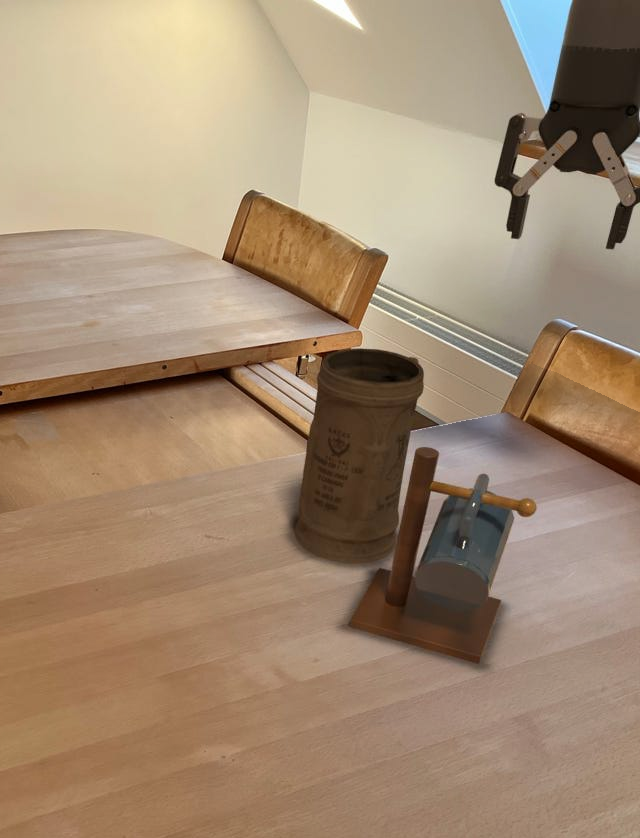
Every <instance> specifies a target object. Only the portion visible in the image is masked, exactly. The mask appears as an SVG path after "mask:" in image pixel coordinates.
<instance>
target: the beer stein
mask: <svg viewBox="0 0 640 838" xmlns="http://www.w3.org/2000/svg"><path fill="white" fill-rule="evenodd" d="M424 378H425V371H424V368H423V366H422V365H421V364H420V363H419V359H418V358H417V357H414V356H413V357H412V356H406V355H403V354H401V353H398V352H393V351H389V350H384V349H378V348H360V347H358V348H357V347H356V348H346V349H341V350H337V351H333V352H331V353H328V354H327V355H326V356H325V357H324V358H323V359H322V362H321V366H320V370H319V371H318V373H317V376H316V381H317V389H316V397H315V406H314V411H313V419H312V421H311V423H310V425H309V431H308V436H307V441H306V448H305V449H306V451H305V457H304V458H305V459H304V465H303V472H302V479H301V485H300V493H299V499H298V515H299V518H298V519H297V522H296V524H295V528H294V532H293V533H294V538H295V540H296V541H297V543H298V544H299V545H300V546H301V547H302V548H303V549H304V550H306V551H307V552H309V553H311V554H312V555H314V556H316V557H318V558H321V559H325V560H327V561H331V562H336V563H342V564H352V565H353V564H354V565H356V564H360V565H361V564H368V563H373V562H377V561H380V560H382V559H385V558H387V557H388V556H389V555H390V554H393V552H394V551H395V549H396V544H397V534H396V530H397V528H398V526H400V525H399V524H400V514H399V505H400V499H401V497H400V496H401V491H402V490H401V489H402V485H403V478H404V473H405V472H404V471H405V466H406V460H407V456H408V449H409V442H410V438H411V434H412V428H413V423H414V417H415V413H416V409H417V403H418V400H419V398H420V397H421V396H422V395H423V392H424V389H425V385H424V384H425V383H424Z"/></svg>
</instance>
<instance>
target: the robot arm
mask: <svg viewBox="0 0 640 838" xmlns="http://www.w3.org/2000/svg"><path fill="white" fill-rule="evenodd" d="M568 10H569V11H568V15H567V19H566V25H565V29H564V34H563V39H562V44H561V48H560V52H559V59H558V62H557V67H556V71H555V72H556V73H555V77H554V81H553V86H552V91H551V94H550V95H551V96H550V101H549V104H548V105H549V106H548V109H547V111H546V112H545V114H544V116H542V118H541V117H534V116H527V115H526V114H525V113H524V112H518V113H517V114H515V115H513V116H512V117H510V118H509V120H508V123H507V127H506V131H505V135H504V140H503V143H502V148H501V152H500V155H499V160H498V164H497V168H496V172H495V176H494V185H495V186H496V187H497V188H502V189H505V190H506V191H507V192H509V194H510V196H511V199H510V204H509V209H508V215H507V220H506V224H505V227H506V232H507V233H508V232H509V233H511V236H510V239H512V240H520V239H521V238H522V235H523V231H524V228H525V227H524V226H525V221H526V217H527V213H528V207H529V202H530V197H531V194H529V190H530V189H531V188H532V187H533V186H534V185H535V184H536V183H537V182H538V181H539V180H540V179H541V178H542V177H543V176H544V175H545V174H546V173H547V172H548V171H549V169H551V168H552V167H554V168H555V169H556V170H558V171H559V172H560V173H573V172H580V173H583V174H586V175H593V176H594V175H597V174H600V173H603V172H604V171H605V172H606V174H607V177H608V179H609V181H610V182H611V184H612V185H613V187H614V189H615V191H616V194H617V196H618V198H619V202H618V203H617V204H616V207H615V210H614V214H613V217H612V222H611V226H610V229H609V233H608V238H607V240H606V246H605V250H615V248H616V244H622V243H623V242H624V240H625V238H626V237H627V233H628V230H629V226H630V222H631V218H632V215H633V210H634V208H635V207H636V205H638V204H639V203H640V185H639V186H636V184H635V183H634V180H633V179H632V176H631V174H630V171H629V168H628V166H627V164H626V161H625V159H624V157H623V154H624V153H625V152H626V151H627V150H628V149H629V148H630V147H631V146H632V145H633V144H634V143H635V142H636V141H637V140H638V138H640V0H571V3H570V7H569V9H568ZM537 131H538V136H539V137H540V139H541V141H542V145H543V146H544V148H545V150H546V152H545V153H544V154H543V155H542V156H541V157H540V158H539V159H538V160H537V161H536V162H535V163H534V164H533V165H532V166H531V167H530V168H529V170H528V171H526V173H524V175H523V176H522V177H521V176H520V175H518V174H515V173H514V171H515V168H516V164H517V159H518V157H519V152H520V148H521V144H523V143H526V142H528V141H529V140H530V138H531V136H532V134H533V133H534V132H537Z"/></svg>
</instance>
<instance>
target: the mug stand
mask: <svg viewBox="0 0 640 838" xmlns="http://www.w3.org/2000/svg"><path fill="white" fill-rule="evenodd" d="M439 456H440V452H439V451H438V450H437V449H436V448H433V447H428V446H421V447H417V448H416V449H415V451H414V455H413V461H412V466H411V469H410V475H409V480H408V484H407V490H406V494H405V501H404V505H403V511H402V514H401V519H400V523H399V524H400V525H399V528H398V533H397V538H396V545H395V548H394V554H393V559H392V564H391V568H390V570H389V569H386V568H381V567H379V568H378V569H377V570H376V573H375V575H374V576H373V578H372V580H371V582H370V584H369V586H368V587H367V589H366V590H365V592H364V594H363V596H362V598H361V600H359V601H360V602H359V603H358V605H357V607H356V609H355V610H354V611H353V614H352V616H351V618H349V619H350V620H349V624H348V627H349V628H351V629H354V630H358V631H362V632H365V633H369V634H371V635H372V634H373V635H376V636H379V637H382V638H386V639H390V640H393V641H397V642H400V643H404V644H406V645H410V646H413V647H417V648H421V649H424V650H428V651H431V652H435V653H438V654H442V655H445V656H448V657H452V658H455V659H459V660H463V661H466V662H469V663H472V664H477V665H480V664H481V660H482V658H483V654H484V651H485V649H486V646H487V644H488V640H489V637H490V634H491V633H492V629H493V626H494V624H495V621H496V618H497V614H498V612H499V610H500V606H501V602H502V599H499V598H495V597H492V596H488V599H487V601H486V602H485V603H484V604H483V605H482V606H480V607H478V608H476V609H473V610H468V611H454V610H449V609H445V608H442V607H439V606H437V605H435V604H433V603H431V602H430V601H428V600H427V599H426V598H425V597H423V596H422V595H421V593H420V592H419V591H418V589H417V587H416V584H415V576H413V575H414V570H415V566H416V562H417V557H418V553H419V547H420V544H421V538H422V535H423V529H424V525H425V520H426V515H427V512H428V508H429V502H430V498H431V494H432V492H434V493H436V494H437V493H438V494H442V495H446V496H449V495H450V496H454V497H458V498H463V499H467V500H469V498H470V496H471V493H472V490H471V489H472V488H467V487H462V486H458V485H453V484H449V483H444V482H441V481H435V475H436V471H437V467H438V462H439ZM481 503H484V504H489V505H493V506H497V507H502V508H506V509H510V510H512V511H516V512H517V514H518V515H519V516H520V517H522V518H530V517H532V516H533V515H534V514H536V511H537V503H536V501H535V500H534V499H532V498H529V497H523V498H521V499H520V500H519V499H515V498H510V497H506V496H502V495H497V494H496V495H493V494H489V493H484V496H483V498H482V501H481Z"/></svg>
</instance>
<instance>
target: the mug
mask: <svg viewBox="0 0 640 838" xmlns="http://www.w3.org/2000/svg"><path fill="white" fill-rule="evenodd" d="M489 483H490V476H489V475H488V474H486V473H480V474H478V476H477V477H476V480H475V482H474V485H473V487H472V488H470V489H471V490H472V493H471V496H470V498H469V500H467V499H463V498H458V497H454V496H450V495H447V497H446V498H445V500H443V502H442V504H441V507H440V509H439V512H438V515H437V516H436V520H435V522H434V524H433V528H432V530H431V532H430V535H429V537H428V539H427V543H426V545H425V548H424V551H423V553H422V555H421V558H420V560H419V562H418V565H417V568H416V571H415V575H414V577H415V584H416V587H417V589H418V591H419V592H420V593H421V595H422V596H423V597H425V598H426V599H427V600H428V601H430V602H431V603H433V604H435V605H437V606H439V607H442V608H445V609H449V610H454V611H468V610H473V609H476V608H478V607H480V606H482V605H483V604H484V603H485V602H486V601H487V599H488V597H490V594H491V591H492V588H493V585H494V582H495V580H496V576H497V574H498V570H499V567H500V565H501V561H502V559H503V555H504V552H505V550H506V546H507V544H508V541H509V538H510V535H511V532H512V530H513V529H512V528H513V525H514V521H515V516H514V512H513V510H510V509H506V508H502V507H497V506H493V505H489V504H484V503H481V501H482V498H483V496H484V493H489V494H493V495H497V494H496V493H494V492H492V491H489V490H488V487H489Z"/></svg>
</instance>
